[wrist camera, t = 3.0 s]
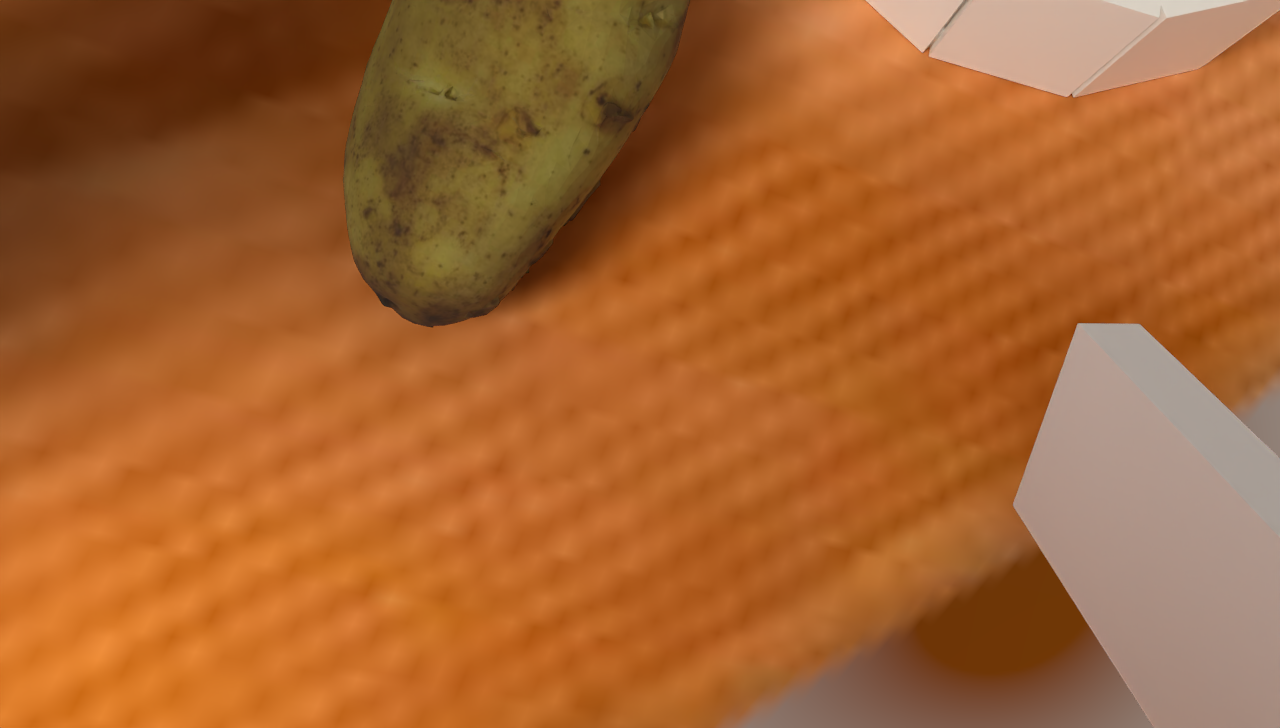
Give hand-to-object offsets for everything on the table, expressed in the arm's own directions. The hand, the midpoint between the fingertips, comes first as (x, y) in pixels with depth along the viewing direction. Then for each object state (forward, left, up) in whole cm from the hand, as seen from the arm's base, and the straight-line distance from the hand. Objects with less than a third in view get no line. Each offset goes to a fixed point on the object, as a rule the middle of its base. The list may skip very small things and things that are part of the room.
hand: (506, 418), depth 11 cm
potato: (+10, +3, -15) cm, 19 cm away
